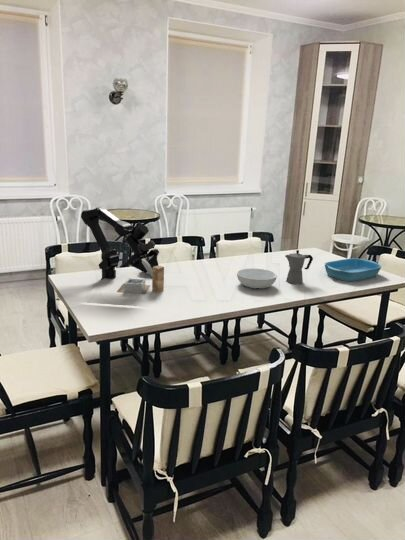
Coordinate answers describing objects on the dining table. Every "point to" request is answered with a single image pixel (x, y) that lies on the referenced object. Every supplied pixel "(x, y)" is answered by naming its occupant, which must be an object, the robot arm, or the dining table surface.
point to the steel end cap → (134, 285)
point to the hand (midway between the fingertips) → (152, 270)
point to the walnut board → (139, 293)
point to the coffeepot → (296, 267)
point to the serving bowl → (256, 277)
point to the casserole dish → (352, 269)
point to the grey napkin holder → (148, 266)
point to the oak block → (158, 279)
